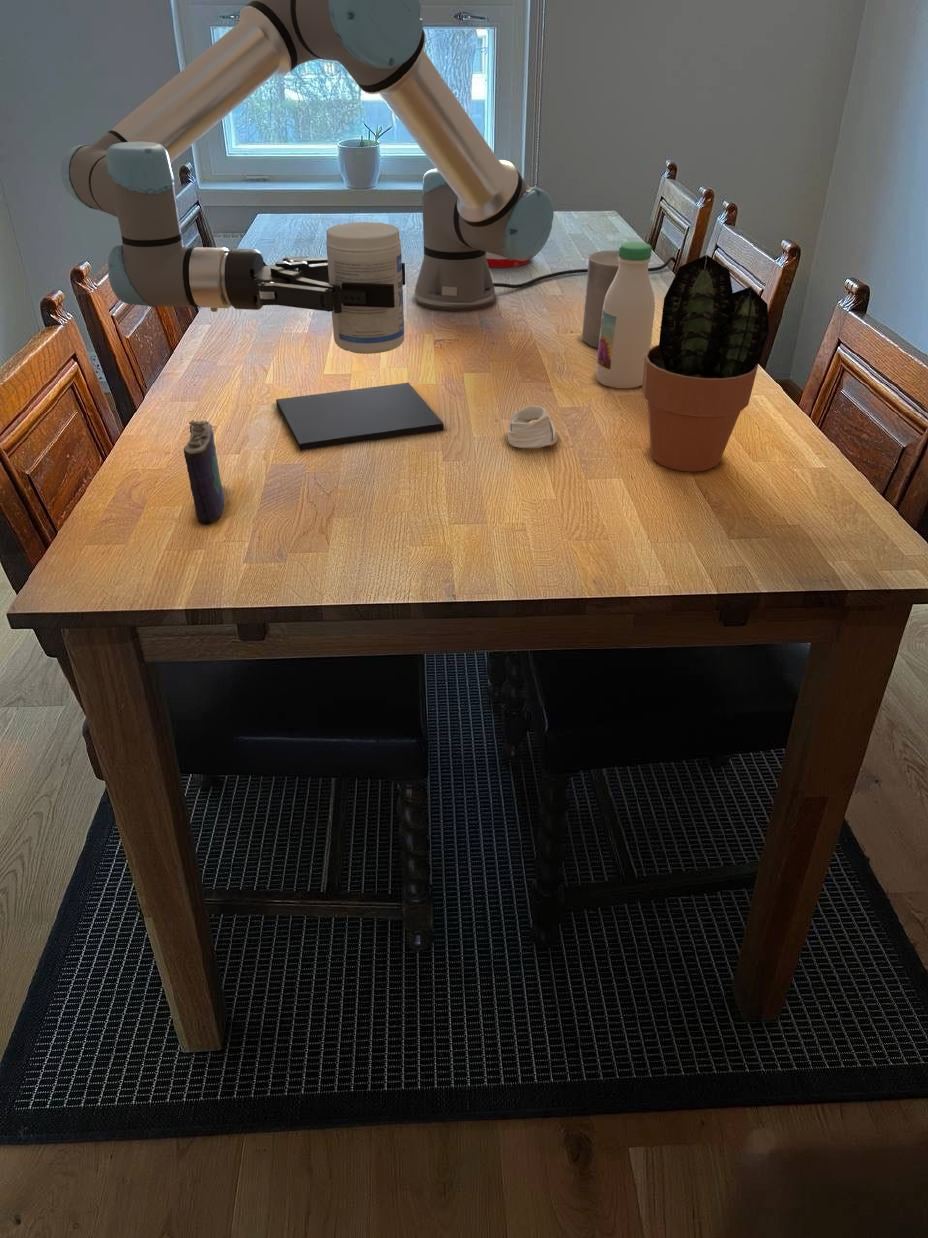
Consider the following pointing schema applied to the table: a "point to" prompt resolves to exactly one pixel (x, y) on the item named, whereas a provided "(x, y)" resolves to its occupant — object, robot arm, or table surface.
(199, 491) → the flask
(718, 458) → the potted plant
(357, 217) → the table surface
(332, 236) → the supplement tub
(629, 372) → the milk bottle
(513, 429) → the white wrapped ring
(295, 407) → the mat
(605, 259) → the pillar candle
